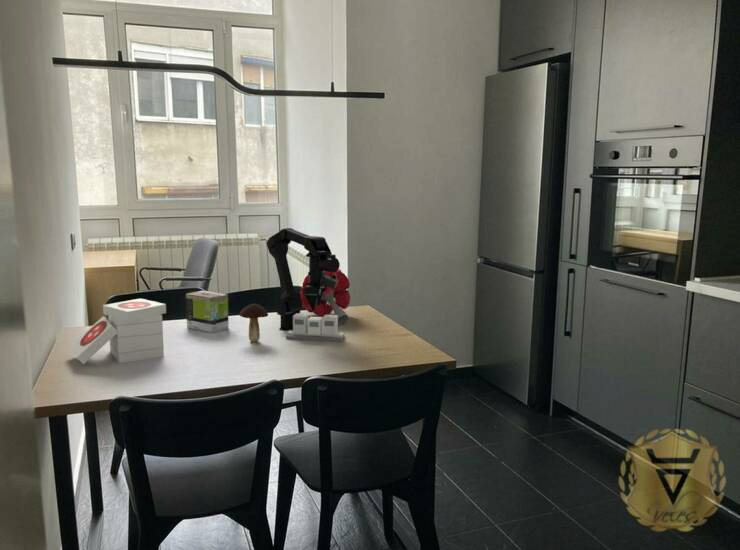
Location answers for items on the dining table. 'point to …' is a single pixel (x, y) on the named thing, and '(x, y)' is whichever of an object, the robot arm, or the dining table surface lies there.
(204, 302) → the tea box
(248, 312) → the decorative mushroom
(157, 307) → the pizza boxes
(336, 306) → the bouquet
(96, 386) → the dining table surface
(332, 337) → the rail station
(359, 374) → the dining table surface
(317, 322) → the block
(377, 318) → the dining table surface
